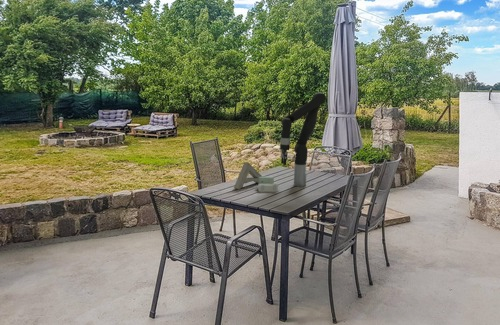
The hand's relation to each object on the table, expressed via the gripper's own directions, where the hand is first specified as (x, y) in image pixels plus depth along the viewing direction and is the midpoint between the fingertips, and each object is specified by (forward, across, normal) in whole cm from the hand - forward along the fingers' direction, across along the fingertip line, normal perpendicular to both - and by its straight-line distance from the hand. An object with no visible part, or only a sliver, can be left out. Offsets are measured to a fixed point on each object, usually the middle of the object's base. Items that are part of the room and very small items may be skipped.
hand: (283, 164), depth 299 cm
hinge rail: (+18, -17, +14) cm, 28 cm away
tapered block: (+18, -8, +14) cm, 24 cm away
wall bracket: (+19, 0, +25) cm, 31 cm away
